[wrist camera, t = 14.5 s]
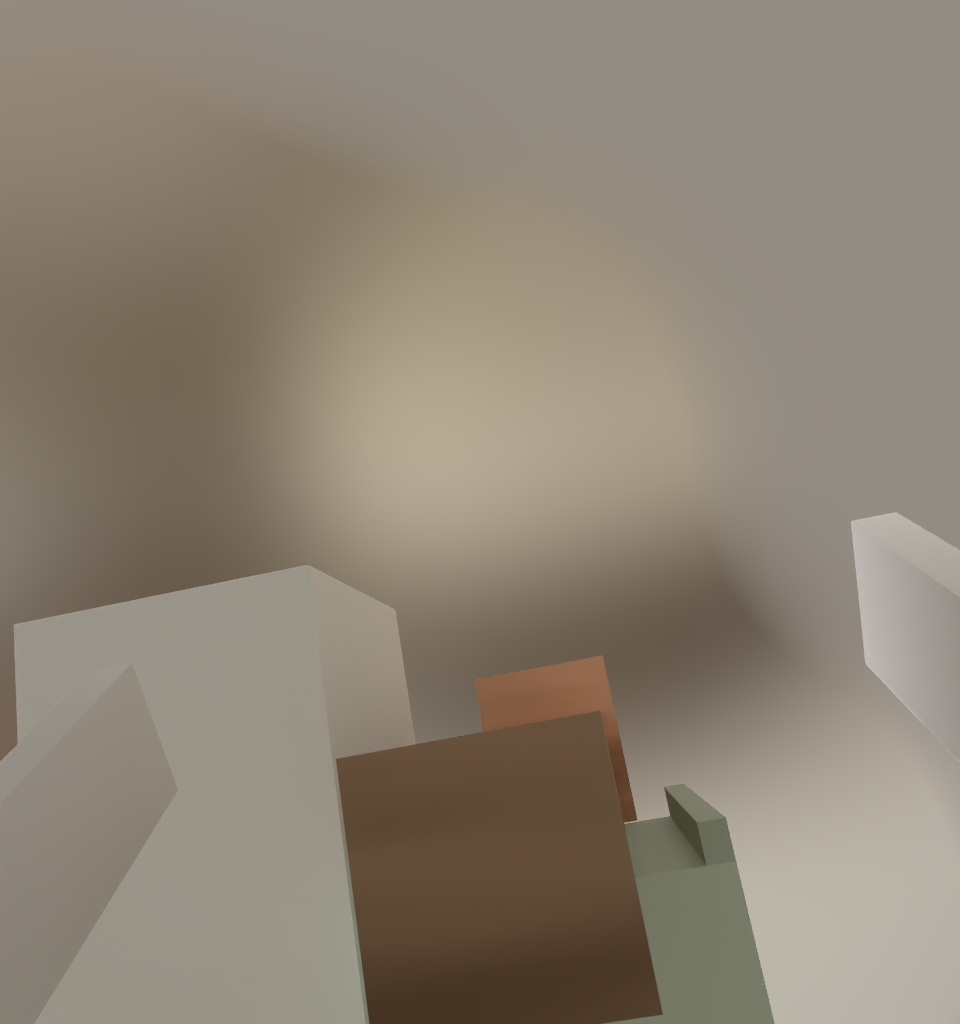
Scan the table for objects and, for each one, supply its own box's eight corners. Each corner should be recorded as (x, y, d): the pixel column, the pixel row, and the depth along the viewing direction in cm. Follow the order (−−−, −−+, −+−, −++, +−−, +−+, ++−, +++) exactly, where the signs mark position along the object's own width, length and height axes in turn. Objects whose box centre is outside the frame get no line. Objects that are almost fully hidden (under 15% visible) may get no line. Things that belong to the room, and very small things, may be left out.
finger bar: (700, 1008, 11) (604, 570, 13) (338, 1061, 12) (288, 633, 13) (631, 802, 36) (602, 664, 38) (518, 822, 37) (493, 684, 38)
